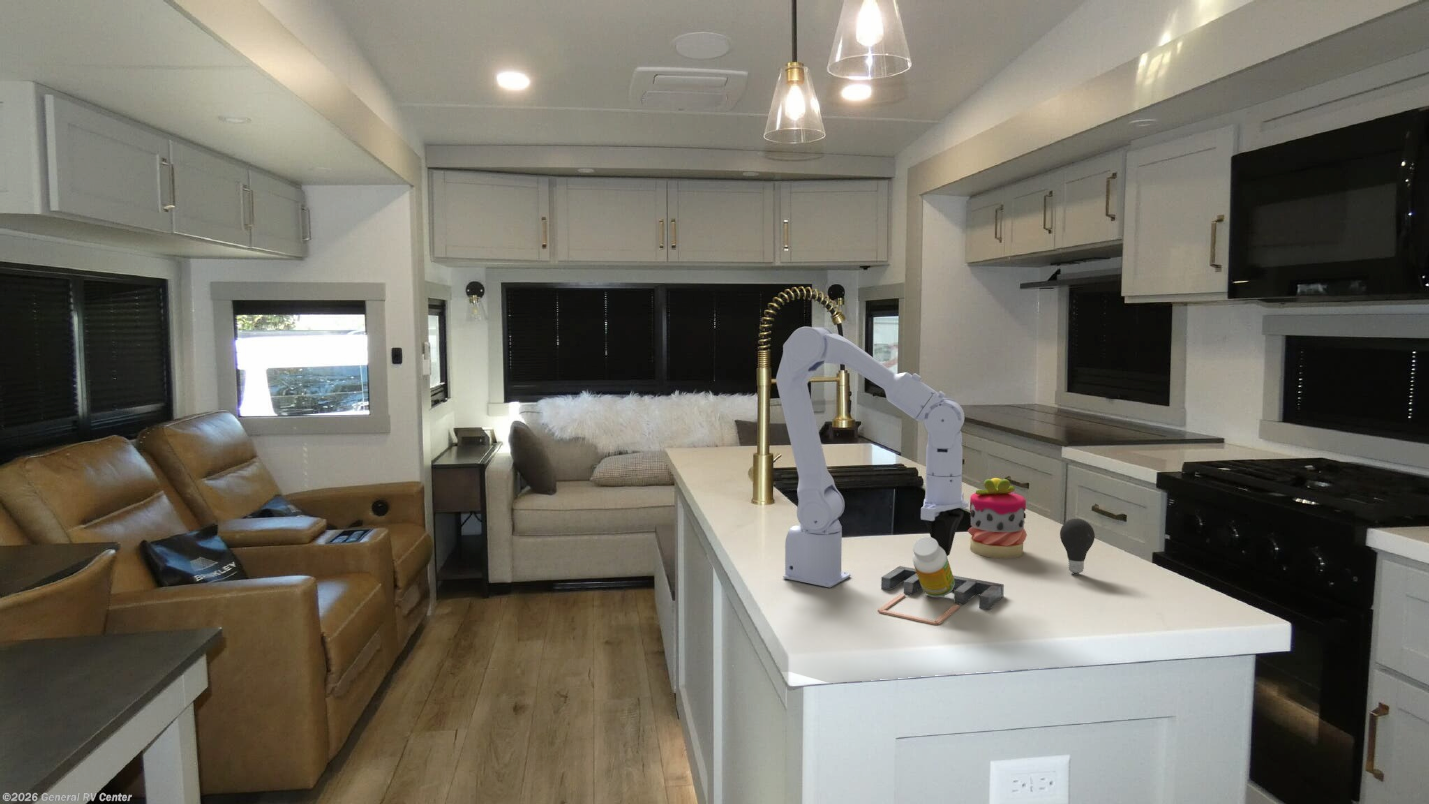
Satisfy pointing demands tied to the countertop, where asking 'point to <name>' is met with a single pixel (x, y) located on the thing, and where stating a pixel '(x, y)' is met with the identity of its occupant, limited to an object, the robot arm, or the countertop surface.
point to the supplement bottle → (932, 567)
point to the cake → (997, 520)
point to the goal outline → (901, 596)
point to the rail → (962, 587)
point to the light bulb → (1077, 542)
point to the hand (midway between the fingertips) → (942, 554)
